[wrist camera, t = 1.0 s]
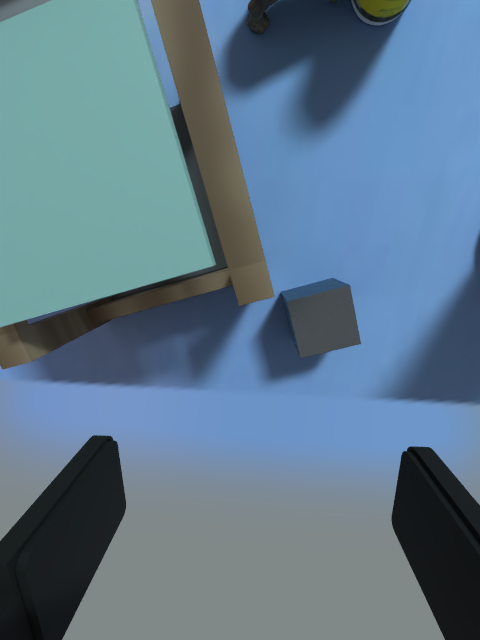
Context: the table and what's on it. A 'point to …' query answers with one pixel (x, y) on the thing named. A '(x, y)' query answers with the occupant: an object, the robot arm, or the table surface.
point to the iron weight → (321, 317)
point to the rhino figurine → (260, 14)
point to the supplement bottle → (379, 10)
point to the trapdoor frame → (210, 190)
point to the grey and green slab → (87, 160)
